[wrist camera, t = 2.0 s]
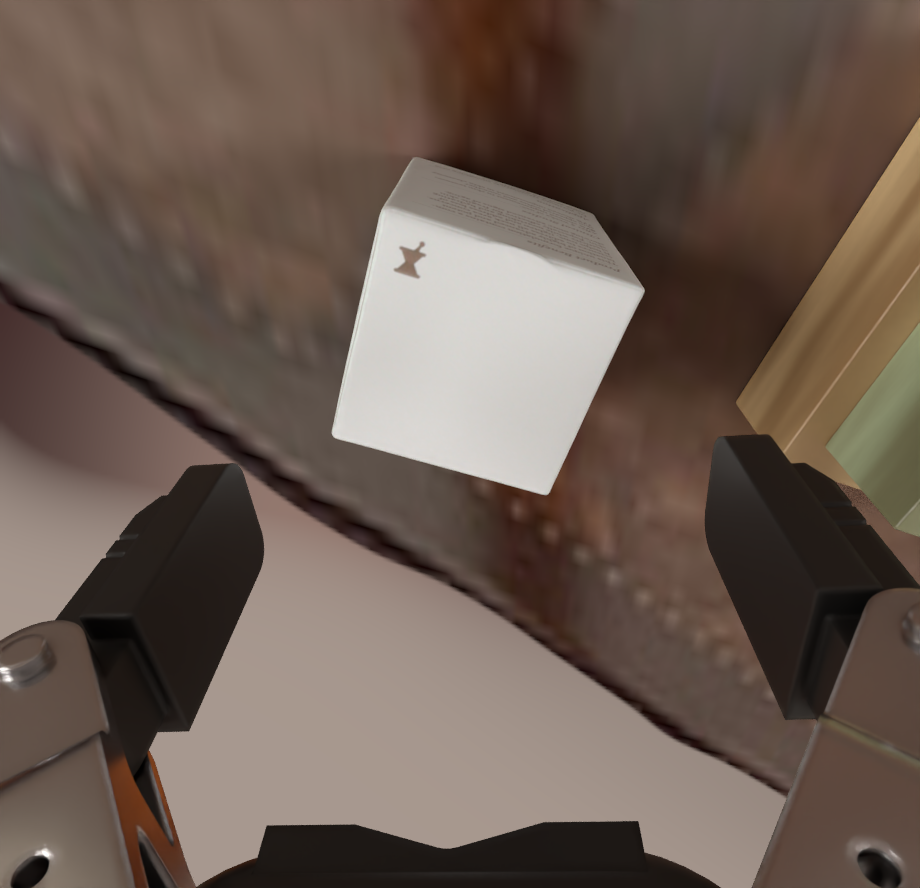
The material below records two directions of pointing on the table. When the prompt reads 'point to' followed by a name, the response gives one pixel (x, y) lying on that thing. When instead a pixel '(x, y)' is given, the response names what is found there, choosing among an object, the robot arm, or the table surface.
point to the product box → (482, 327)
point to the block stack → (856, 355)
